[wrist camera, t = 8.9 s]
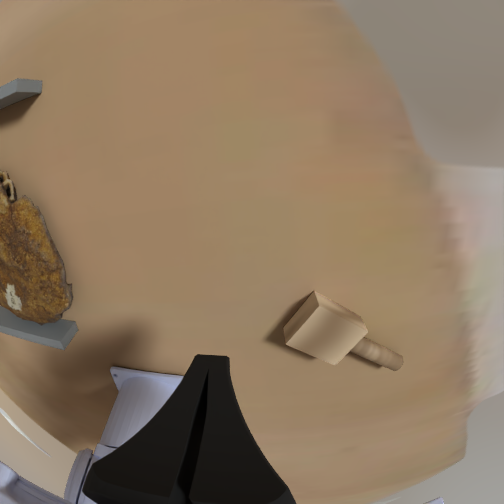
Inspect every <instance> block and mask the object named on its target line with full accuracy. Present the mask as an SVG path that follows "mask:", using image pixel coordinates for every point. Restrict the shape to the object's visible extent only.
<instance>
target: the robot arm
mask: <svg viewBox="0 0 504 504" xmlns="http://www.w3.org/2000/svg"><path fill="white" fill-rule="evenodd" d="M110 372H111V375H112V377H113V379H114V382H115V384H116V386H117V389H118V391H119V393H118V395H117V398H116V400H115V403H114V405H113V408H112V410H111V413H110V416H109V418H108V421H107V423H106V426H105V429H104V431H103V434H102V437H101V439H100V442H99V443H97V446H96V449H95V451H94V454H92V453H93V450H91V449H89V448H86V449H85V450H81V451H79V453H78V455H77V457H76V459H75V461H74V464H73V466H72V469H71V472H70V475H69V478H68V482H67V485H66V489H65V493H64V499H63V498H60V497H58V496H56V495H54V494H52V493H50V492H48V491H46V490H44V489H42V488H40V487H38V486H37V485H35V484H33V483H31V482H29V481H28V480H26V479H24V478H23V477H21V476H19V475H18V474H17V473H16V472H15V471H13V470H12V469H11V468H10V467H8V466H7V465H6V464H4V463H3V462H1V461H0V504H296V502H295V500H294V498H293V496H292V494H291V492H290V490H289V488H288V486H287V485H286V484H285V483H284V481H283V480H282V479H281V478H280V477H279V475H278V474H277V473H276V472H275V470H274V469H273V468H272V466H271V465H270V463H269V462H268V461H267V459H266V458H265V456H264V454H263V453H262V451H261V450H260V448H259V446H258V445H257V443H256V441H255V440H254V438H253V436H252V434H251V432H250V430H249V428H248V426H247V424H246V422H245V420H244V417H243V415H242V413H241V410H240V407H239V405H238V402H237V399H236V396H235V392H234V389H233V385H232V381H231V376H230V361H229V357H227V356H217V355H200V354H197V355H196V356H195V357H194V359H193V361H192V363H191V365H190V367H189V369H188V371H187V372H186V374H185V376H179V375H170V374H161V373H153V372H145V371H138V370H132V369H125V368H119V367H111V369H110ZM425 504H444V501H443V498H442V497H439V498H436V499H434V500H432V501H429V502H427V503H425Z"/></svg>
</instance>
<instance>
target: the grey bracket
mask: <svg viewBox="0 0 504 504" xmlns="http://www.w3.org/2000/svg"><path fill="white" fill-rule="evenodd" d="M41 91H42V81H39V80H30V79H18V78H17V79H15V80H13V81H11V82H9V83H7V84H5V85H3V86H1V87H0V109H2V108H4V107H7V106H9V105H11V104H14V103H16V102H18V101H21V100H23V99H26V98H29V97H31V96H34V95H36V94H39V93H41ZM77 331H78V328H77V325H76V322H75V321H69V320H63V319H59V320H58V321H57V322H55V323H46V324H43V325H42V326H41V325H39V324H38V323H36V322H33V321H28V320H22V318H19V317H17V316H16V315H14V314H13V313H12V312H11V311H9V310H8V309H6V308H4V307H1V306H0V332H2V333H5V334H8V335H11V336H15V337H18V338H21V339H24V340H28V341H31V342H35V343H39V344H42V345H46V346H50V347H54V348H58V349H62V350H65V348H66V347H67V345H68V344H69V343H70V341H71V340H72V338H73V337H74V335H75V334H76V332H77Z"/></svg>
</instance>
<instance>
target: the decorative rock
mask: <svg viewBox="0 0 504 504" xmlns="http://www.w3.org/2000/svg"><path fill="white" fill-rule="evenodd" d="M1 182H2V183H1ZM9 195H10V197H9V198H8V196H9ZM71 285H72V284H68V285H67V284H66V283H65V270H64V264H63V261H62V259H61V257H60V255H59V253H58V251H57V249H56V247H55V245H54V243H53V241H52V239H51V237H50V235H49V233H48V230H47V228H46V225H45V222H44V219H43V216H42V214H41V213H40V210H39V208H38V206H34V205H33V203H32V201H31V199H30V198H28V197H27V196H25V195H24V196H22V197H21V198H20V199H18V200H17V196H16V191H15V189H14V184H13V181H11V180H10V178H9V176H8V173H7V171H5V172H2V171H1V170H0V305H1V306H2V307H4V308H6V309H8V310H9V311H11V312H12V313H13V314H14V315H16V316H17V317H19V318H22V320H28V321H33V322H36V323H38V324H39V325H41V326H42V325H43V324H46V323H55V322H57V321H58V320H59V319H61V318H62V313H63V312H64V311H66V310H67V309H69V308H70V305H71V302H72V298H73V296H72V292H71Z"/></svg>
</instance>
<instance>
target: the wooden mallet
mask: <svg viewBox="0 0 504 504" xmlns="http://www.w3.org/2000/svg"><path fill="white" fill-rule="evenodd" d="M283 330H284V337H285V344H286V345H288V346H291V347H293V348H295V349H297V350H300V351H302V352H304V353H307V354H309V355H311V356H314V357H316V358H318V359H321V360H323V361H326V362H328V363H330V364H333V365H336V364H337V363H338V362H339V361H340V360H341V359H342V358H343V357H344V356H345V355H346V354H347V353H348V352H349V351H350V352H352V353H354V354H357V355H359V356H361V357H363V358H366V359H368V360H370V361H372V362H375V363H377V364H379V365H382V366H384V367H386V368H389V369H391V370H393V371H397V370H399V369H400V368H401V367H402V365H403V357H402V356H401V355H399V354H397V353H395V352H393V351H391V350H389V349H387V348H385V347H383V346H381V345H379V344H377V343H375V342H373V341H371V340H369V339H367V338H365V337H364V336H365V335H366V334H367V333H368V330H367V328H366V326H365V324H364V322H363V320H362V318H361V317H360V316H359V315H357V314H355V313H353V312H352V311H350V310H348V309H346V308H344V307H343V306H341V305H339V304H337V303H335V302H334V301H332V300H330V299H328V298H327V297H325V296H323V295H321V294H319V293H318V292H316V291H313V293H312V294H311V295H310V296H309V297H308V299H307V300H306V301H305V302H304V304H303V305H302V306H301V307H300V308H299V310H298V311H297V312H296V313H295V314H294V316H293V317H292V318H291V319H290V320H289V322H288V323H287V324H286V325H285V326H284V327H283Z"/></svg>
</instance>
